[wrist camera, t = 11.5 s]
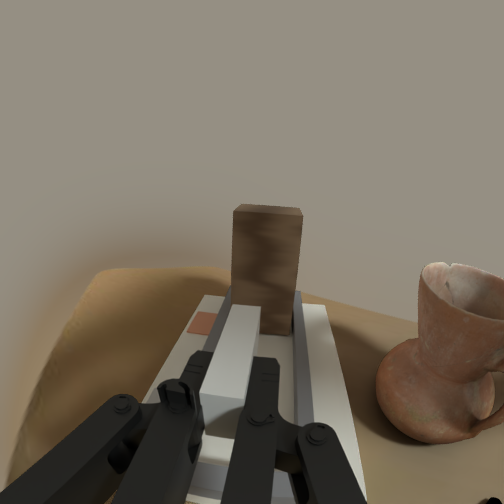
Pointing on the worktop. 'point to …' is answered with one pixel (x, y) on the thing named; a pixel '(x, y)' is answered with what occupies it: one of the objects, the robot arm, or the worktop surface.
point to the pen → (494, 501)
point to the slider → (266, 262)
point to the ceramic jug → (447, 358)
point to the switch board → (290, 389)
